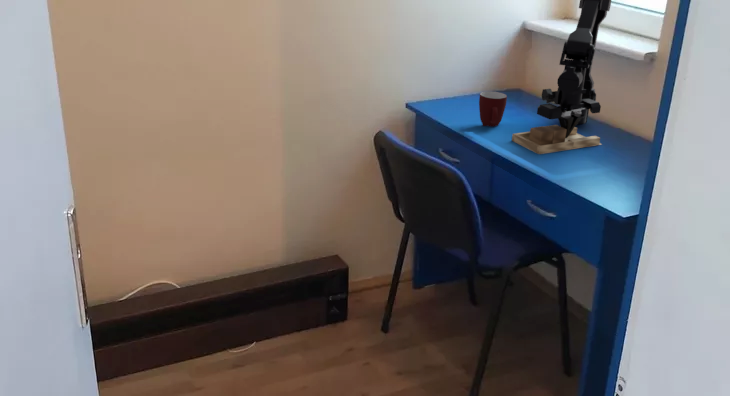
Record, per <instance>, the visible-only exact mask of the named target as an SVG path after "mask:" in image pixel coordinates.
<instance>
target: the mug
mask: <svg viewBox="0 0 730 396" xmlns="http://www.w3.org/2000/svg"><path fill="white" fill-rule="evenodd" d="M507 101H508V96H507V94H506V93H503V92H497V91H489V90H488V91H482V92H480V93H479V99H478V108H479V119H480V122H481V124H482V127H498V126H499V125H500V123H501V121H502V119H503V116H504V113H505V109H506V106H507Z"/></svg>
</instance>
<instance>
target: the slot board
mask: <svg viewBox="0 0 730 396" xmlns="http://www.w3.org/2000/svg"><path fill="white" fill-rule="evenodd" d="M511 137H512V138H511V141H512V142H513V143H516V144H518V145H519V146H522V147H523V148H525V149H528V150H529V151H532V152H533V153H535V154H537V155H545V154H550V153H556V152H561V151H563V152H564V151H569V150H575V149H580V148H581V149H582V148H588V147H595V146H601V145H603V144H602V143H601V137H599V136H597V135H591V136H585V135H582V134H580V133H578V127H576V126H575V127H574V129H573V130H572V132H571V133H570V134H569V136H568V137H567V138H565V142H562V143H555V144H548V145H541V146H540V145H538V144H536V143H534V142H532V141H530V140H529V137H530V131H524V132H516V133H512V136H511Z"/></svg>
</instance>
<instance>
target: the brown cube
mask: <svg viewBox="0 0 730 396" xmlns="http://www.w3.org/2000/svg"><path fill="white" fill-rule="evenodd" d="M543 126H544V125H543ZM544 127H546V128H548V129H551V130H553V131H554V133H553V140H552V144H555V143H562V142H565V137H566V131H567V129H565V128H562V127H561V126H560V125H558V124H553V125H552V124H551V125H545V126H544Z"/></svg>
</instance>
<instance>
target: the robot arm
mask: <svg viewBox="0 0 730 396" xmlns="http://www.w3.org/2000/svg"><path fill="white" fill-rule="evenodd" d="M611 4H612V0H579V4H578V9H581V11H580V15H579V19H578V22H577V25H576V28H575V29H574V31H572V32H571V33H569V36H568V38H567V41H564V43H563V47H562V53H561V56H560V59H559V64H558V65H559V66H564V69H563V71H562V72H561V73H560V75H559V76H558V78H557V90H554V91H552V89H551V88H543V89H542V91H541V100H542V101H545V102H546V103H544V104H540V105H538V106H537V110H536V115H538V116H541V117H543V118H545V119H548V120H556V119H557V120H558V122H559V126H560V127H562V128H565V129H567V131H566V137H565V138H567V137H568V136H569V134H570V133H571V132H572V130H573V129H574V127H576V126H577V125H585V124H586V123H587V122H588V117H589V112H590V113H591V114H599V113H600V112H601V107H602V106H601V104H600V102H599V101H597V93H596V89H595V88H594V87H595V82H594V79H593V76H592V69H593V68H592V66H593V63H594V57H595V53H596V45H597V39H598V34H599V28H600V24H602V22H603V21H604V20H605V19H606V18H607V15H608V12H610V9H611V6H612V5H611ZM552 103H554V104H552ZM557 105H559V106H557Z"/></svg>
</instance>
